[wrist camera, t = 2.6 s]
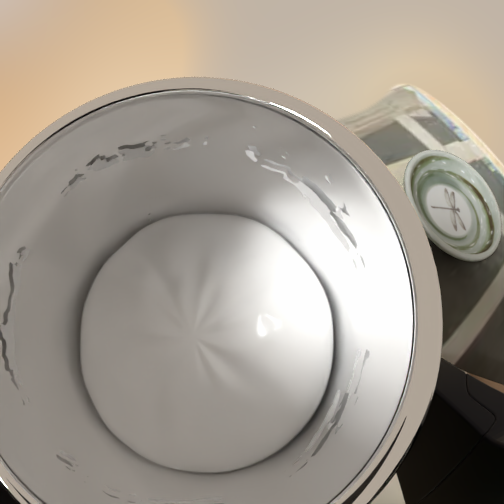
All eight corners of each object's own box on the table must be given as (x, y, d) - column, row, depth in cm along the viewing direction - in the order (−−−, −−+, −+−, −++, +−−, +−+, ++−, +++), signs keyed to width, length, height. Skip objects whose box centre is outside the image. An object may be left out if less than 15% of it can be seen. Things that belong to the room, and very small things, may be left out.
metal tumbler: (299, 312, 18) (428, 108, 4) (279, 427, 15) (382, 603, 1) (185, 291, 18) (50, 80, 4) (160, 401, 15) (-77, 428, 2)
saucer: (375, 169, 22) (385, 149, 20) (457, 164, 23) (469, 149, 20) (420, 284, 18) (438, 272, 16) (500, 258, 19) (517, 247, 17)
